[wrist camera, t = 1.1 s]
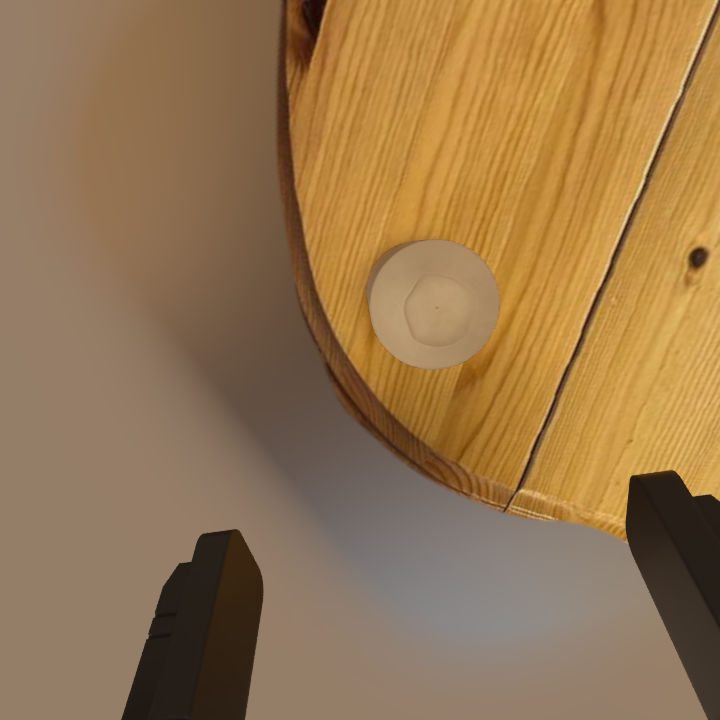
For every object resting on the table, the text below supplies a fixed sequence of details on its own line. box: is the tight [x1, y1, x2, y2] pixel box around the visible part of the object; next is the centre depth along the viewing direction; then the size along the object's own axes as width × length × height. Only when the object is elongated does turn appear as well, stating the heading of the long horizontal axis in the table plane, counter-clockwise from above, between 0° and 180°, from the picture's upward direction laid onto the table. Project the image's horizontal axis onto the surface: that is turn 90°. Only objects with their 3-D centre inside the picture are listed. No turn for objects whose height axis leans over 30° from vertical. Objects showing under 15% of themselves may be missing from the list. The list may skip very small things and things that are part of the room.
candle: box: [367, 239, 500, 370], centre depth 27 cm, size 6×6×10 cm
